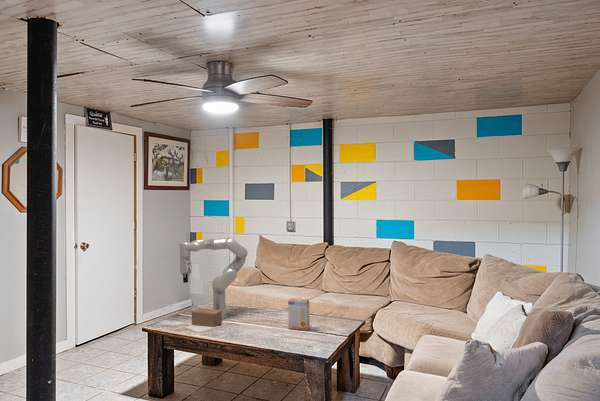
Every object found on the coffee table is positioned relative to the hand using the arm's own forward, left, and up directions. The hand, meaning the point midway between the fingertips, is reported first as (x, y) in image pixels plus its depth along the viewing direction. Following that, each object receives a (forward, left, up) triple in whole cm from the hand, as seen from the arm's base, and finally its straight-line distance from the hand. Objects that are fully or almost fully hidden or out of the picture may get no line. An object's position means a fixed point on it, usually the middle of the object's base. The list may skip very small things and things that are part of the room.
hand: (185, 282), depth 332 cm
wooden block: (0, +13, -24) cm, 27 cm away
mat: (+2, +25, -29) cm, 38 cm away
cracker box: (-42, +79, -29) cm, 94 cm away
